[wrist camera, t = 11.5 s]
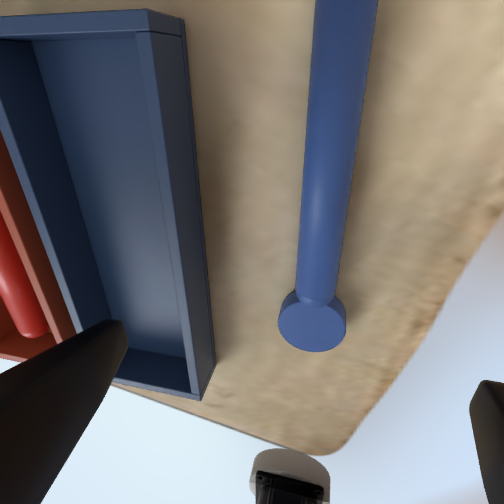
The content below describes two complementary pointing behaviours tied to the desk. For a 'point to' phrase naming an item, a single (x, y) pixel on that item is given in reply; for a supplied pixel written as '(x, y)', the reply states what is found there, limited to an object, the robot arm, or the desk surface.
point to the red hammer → (19, 289)
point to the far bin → (29, 271)
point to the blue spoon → (328, 169)
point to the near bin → (115, 181)
